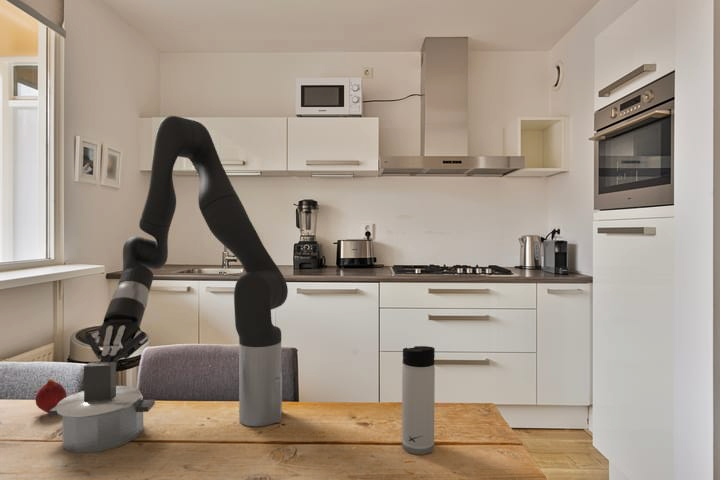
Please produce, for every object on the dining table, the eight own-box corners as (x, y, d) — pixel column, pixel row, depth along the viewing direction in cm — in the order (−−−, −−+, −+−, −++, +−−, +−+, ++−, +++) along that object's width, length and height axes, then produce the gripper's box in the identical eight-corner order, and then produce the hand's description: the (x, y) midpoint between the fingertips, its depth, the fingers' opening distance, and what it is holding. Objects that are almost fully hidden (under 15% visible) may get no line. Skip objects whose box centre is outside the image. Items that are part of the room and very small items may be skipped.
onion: (72, 408, 105) (72, 375, 105) (53, 419, 99) (52, 383, 99) (49, 407, 105) (49, 374, 105) (29, 417, 100) (28, 382, 99)
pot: (162, 418, 99) (162, 387, 99) (138, 449, 85) (138, 413, 85) (73, 422, 97) (73, 390, 97) (34, 454, 83) (34, 417, 83)
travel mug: (414, 459, 82) (415, 351, 82) (395, 443, 88) (396, 343, 88) (441, 451, 85) (442, 347, 85) (421, 437, 91) (422, 340, 91)
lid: (150, 388, 98) (150, 353, 97) (123, 415, 83) (123, 374, 83) (80, 390, 96) (79, 354, 96) (39, 419, 81) (39, 377, 81)
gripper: (91, 296, 100) (62, 367, 88) (153, 295, 101) (133, 365, 89) (102, 315, 105) (76, 384, 93) (161, 314, 106) (143, 382, 95)
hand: (104, 375), depth 91 cm, fingers closed
